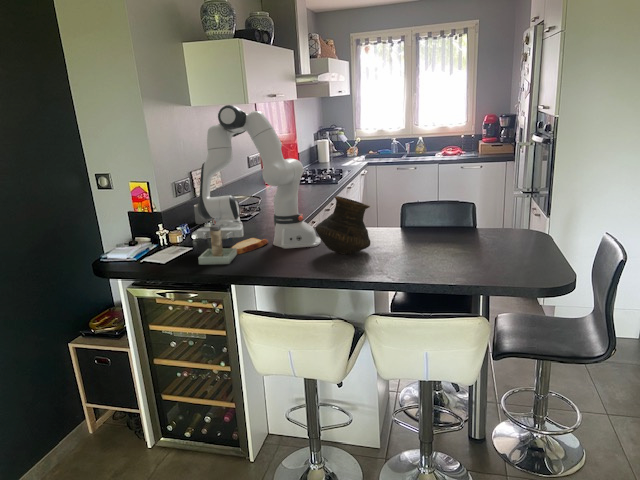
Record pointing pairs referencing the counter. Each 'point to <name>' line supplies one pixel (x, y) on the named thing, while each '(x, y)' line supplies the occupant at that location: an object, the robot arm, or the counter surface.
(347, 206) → the ceramic pot
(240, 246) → the slice of bread
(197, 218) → the coffee mug
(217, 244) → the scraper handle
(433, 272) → the counter surface
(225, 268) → the counter surface
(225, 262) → the box
